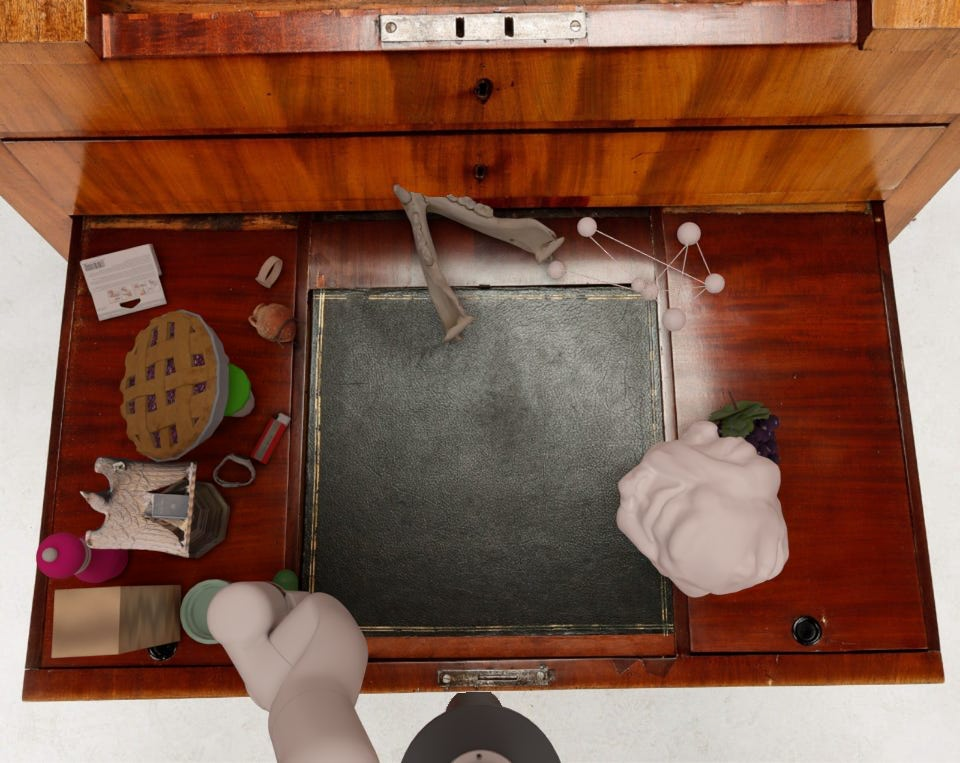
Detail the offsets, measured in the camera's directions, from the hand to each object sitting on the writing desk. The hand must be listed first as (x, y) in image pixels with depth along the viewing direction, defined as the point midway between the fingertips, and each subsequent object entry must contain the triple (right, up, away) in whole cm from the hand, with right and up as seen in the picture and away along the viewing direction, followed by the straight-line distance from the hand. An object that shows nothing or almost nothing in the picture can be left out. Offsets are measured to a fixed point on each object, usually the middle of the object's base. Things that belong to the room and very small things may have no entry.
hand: (287, 606), depth 130 cm
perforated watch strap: (-5, +50, +13) cm, 52 cm away
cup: (-9, +30, +8) cm, 32 cm away
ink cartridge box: (-29, +54, +10) cm, 62 cm away
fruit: (+71, +18, +5) cm, 74 cm away
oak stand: (-20, -1, +1) cm, 20 cm away
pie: (-14, +32, -1) cm, 35 cm away
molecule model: (+51, +58, +11) cm, 78 cm away
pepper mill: (-27, +7, +3) cm, 28 cm away
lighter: (-6, +21, +5) cm, 22 cm away
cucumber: (0, 0, 0) cm, 0 cm away
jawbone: (+24, +55, +14) cm, 61 cm away
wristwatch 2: (-9, +17, +4) cm, 20 cm away
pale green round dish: (-10, -1, +1) cm, 11 cm away
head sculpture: (+67, +8, -14) cm, 69 cm away
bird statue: (-13, +13, +4) cm, 19 cm away
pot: (-1, +45, +7) cm, 45 cm away
